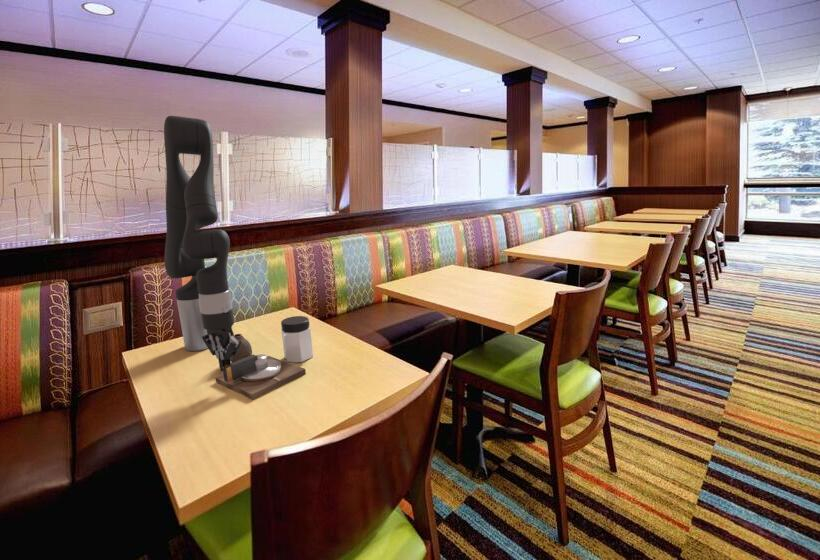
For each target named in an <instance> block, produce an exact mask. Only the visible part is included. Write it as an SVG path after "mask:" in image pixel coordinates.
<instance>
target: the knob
mask: <svg viewBox="0 0 820 560" xmlns="http://www.w3.org/2000/svg"><path fill="white" fill-rule="evenodd" d="M267 356H268V355H266V354H262V353H260V354H252V355H251V356H248V357H246V358H243V359H241V360H238V361H236V362H233V363H232V362H231V363H230V364H228V365H225V366H222V369H223V372H222V374H223V375H224V381H225V382H227V383H230V382H232V381H234V380H236V379H238V378H240V379H241V380H243V381H247V382H258V381H264V380H267V379H270V378H273V377H275V376H276V375H278V374H279V373H280V372H281V363H280V362H279V361H277V360H274V359H267Z"/></svg>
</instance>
